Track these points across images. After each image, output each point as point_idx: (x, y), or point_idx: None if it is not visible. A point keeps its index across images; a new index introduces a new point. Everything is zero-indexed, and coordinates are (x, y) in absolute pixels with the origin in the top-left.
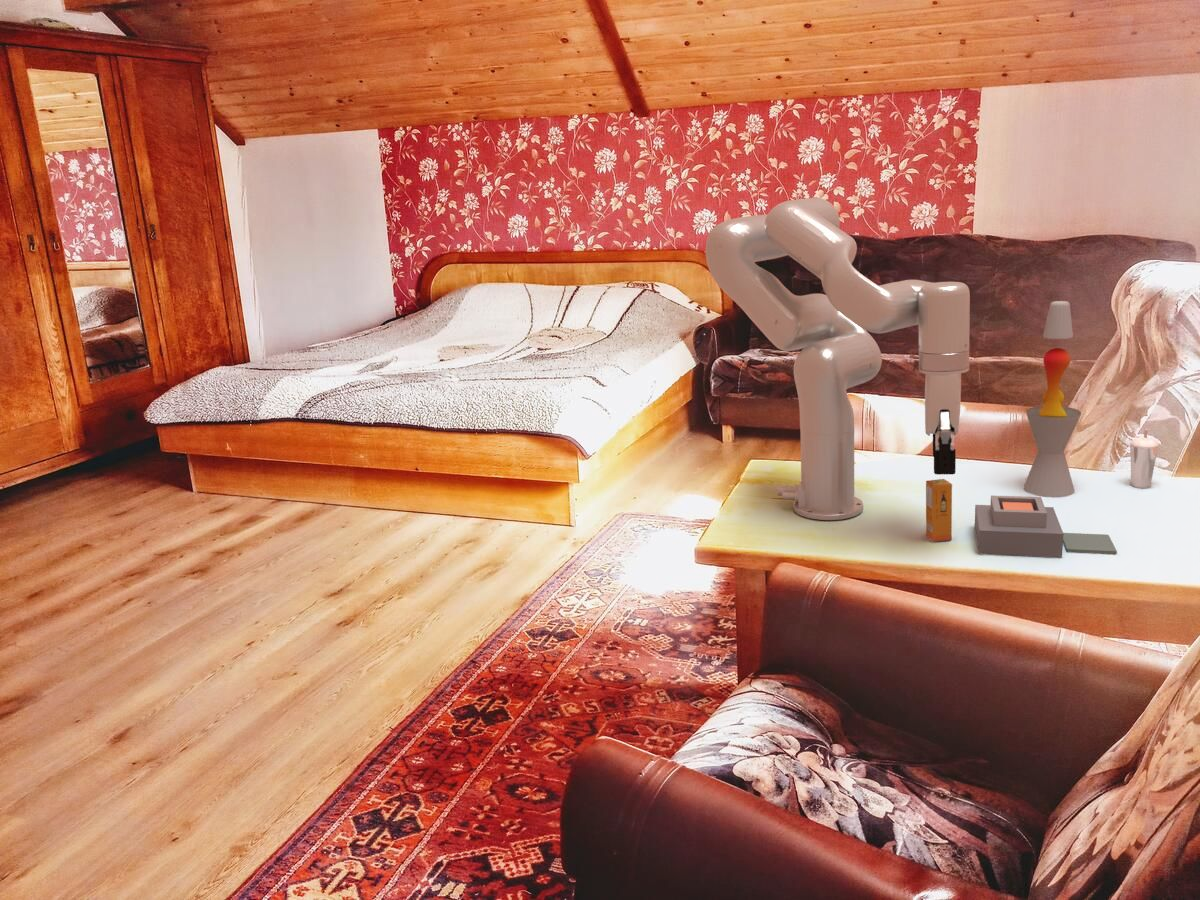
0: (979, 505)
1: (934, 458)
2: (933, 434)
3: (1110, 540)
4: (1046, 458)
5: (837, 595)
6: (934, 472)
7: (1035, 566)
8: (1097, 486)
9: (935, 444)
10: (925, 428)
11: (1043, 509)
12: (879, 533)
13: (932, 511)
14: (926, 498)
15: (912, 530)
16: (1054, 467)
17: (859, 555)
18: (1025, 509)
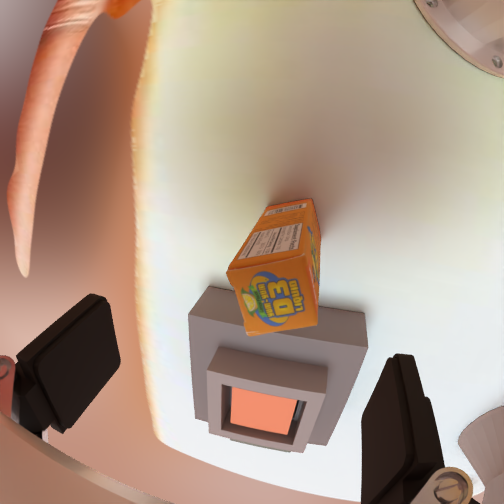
0: (360, 354)
1: (46, 332)
2: (416, 463)
3: (268, 447)
4: (492, 471)
5: (38, 47)
6: (89, 296)
7: (170, 349)
8: (470, 464)
9: (1, 383)
10: (6, 458)
11: (228, 436)
12: (328, 81)
13: (252, 231)
14: (300, 229)
15: (352, 169)
16: (479, 467)
17: (179, 39)
18: (245, 417)
